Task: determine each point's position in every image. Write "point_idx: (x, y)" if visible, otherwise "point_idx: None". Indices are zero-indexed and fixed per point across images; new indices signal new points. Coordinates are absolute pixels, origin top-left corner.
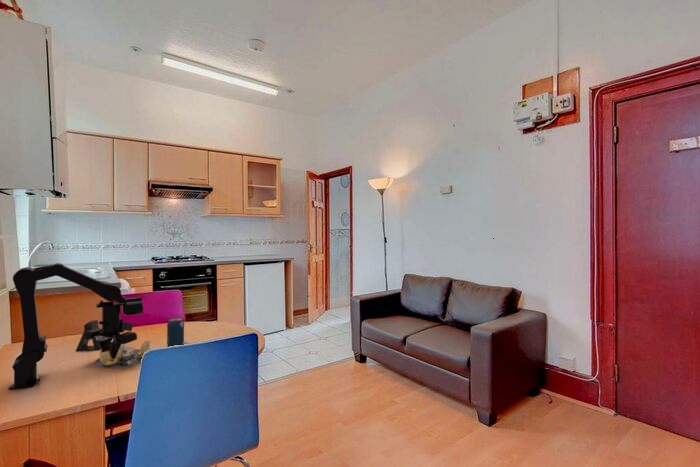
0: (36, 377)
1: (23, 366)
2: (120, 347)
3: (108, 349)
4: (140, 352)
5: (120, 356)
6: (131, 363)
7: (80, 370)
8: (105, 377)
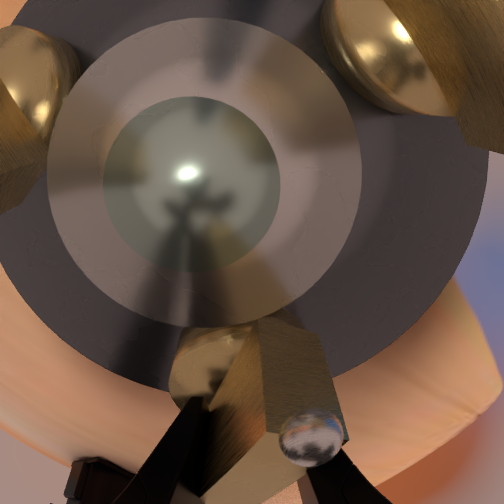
0: (119, 487)
1: None
2: (333, 451)
3: (190, 482)
4: (406, 67)
5: (319, 346)
6: (414, 256)
7: (100, 389)
8: (343, 401)
